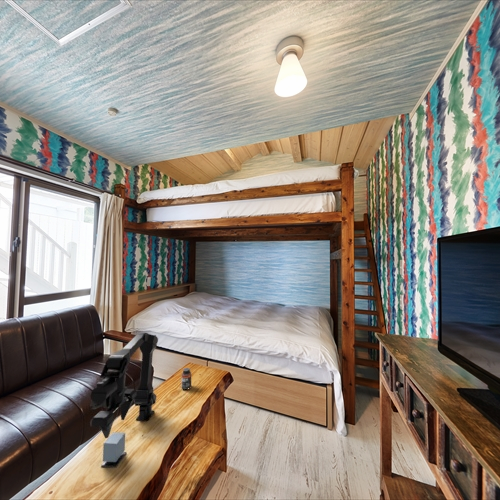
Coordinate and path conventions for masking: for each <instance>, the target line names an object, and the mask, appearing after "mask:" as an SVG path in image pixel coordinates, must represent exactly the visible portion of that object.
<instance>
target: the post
mask: <svg viewBox="0 0 500 500" xmlns="http://www.w3.org/2000/svg"><path fill="white" fill-rule="evenodd" d="M126 455H127V451H124V452H123V453H122V454H121V456H120V457H119V459H118V460H117V461H116V462H104V461H102V464H101V465H100V467H101V468H114V469H115V468H118V466H119V465H120V463H121V461H122V460H123V459H124V458H125V456H126Z"/></svg>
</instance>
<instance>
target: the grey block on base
mask: <svg viewBox="0 0 500 500" xmlns="http://www.w3.org/2000/svg"><path fill="white" fill-rule="evenodd" d="M125 450H126V432H111V433H110V434H109V437H108V438H106V440H104V442H103V447H102V452H103V453H102V462H116V461H117V460H118V459H119V457H120V456H121V454H122V453H123V452H125Z"/></svg>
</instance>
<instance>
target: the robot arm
mask: <svg viewBox="0 0 500 500" xmlns="http://www.w3.org/2000/svg"><path fill="white" fill-rule="evenodd" d="M158 342H159V338H158V336H157V334H150V333H148V332H136V333H135V335H134V337H133V338H132V339H131V340H130V341H129V342H128V343H127V344H126V345H125V346H124V347H123V348H122V349H120V350H118V351H115V352H113V353H112V354H111V355H109V357H107V359H106V361H105V362H104V363H105V364H104V366H103V369H102V371H101V373H100V376H99V378H100V379H102V380H100V381H98V382H97V383H96V386H95V387H94V388H93V390H91V393H90V399H91V401H90V404H89V407H90V409H91V410H97V409H98V408H101V407H103V409H107V408H108V409H107V410H100V411H99V412H98V413H97V414H96V415H94V416H93V417H92V418H91V419H90V427H91V428H92V427H93V428H95V427H97V428H100V430H101V433H102V436H103V437H104V438H105V439H108V438H109V436H110V435H111V431H112V427H113V424H114V421H115V419H114V417H115V414H114V413H115V412H116V410H118V408H120V419H121V421H124V420H126V419H125V418H126V416H127V414H128V412H129V410H130V408H131V406H132V404H133V402H134V405H135V407H136V406H137V407H139V408H138V409H139V410H138V415H137V417H136V418H135V420H136V421H145V422H146V421H149V420H150V419H151V417H152V416H153V415H154V413H155V412H156V411H155V410H154V409H153V405H155V404H156V401H157V394H156V393H155V392H154V386H153V384H152V383H151V378H152V366H153V353H154V351H155V350H156V349H157V345H158ZM138 349H139V351H140V353H141V354H142V355H141V368H140V378H139V385H138V387H137V389H135V388H128V386H126V373H127V371H128V370H129V368H128V366H129V365H130V363H131V357H132V356H133V355H135V353H136V352H137V350H138Z"/></svg>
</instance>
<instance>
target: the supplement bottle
mask: <svg viewBox="0 0 500 500" xmlns="http://www.w3.org/2000/svg"><path fill="white" fill-rule="evenodd" d="M190 387H191V388H192V371H191V368H190V367H185V368H183V369H182V373H181V390H182V389H188V388H190ZM191 388H190V389H191ZM188 390H189V389H188Z"/></svg>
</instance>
